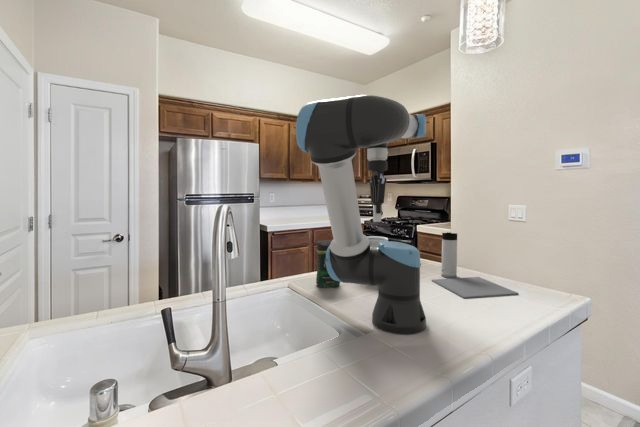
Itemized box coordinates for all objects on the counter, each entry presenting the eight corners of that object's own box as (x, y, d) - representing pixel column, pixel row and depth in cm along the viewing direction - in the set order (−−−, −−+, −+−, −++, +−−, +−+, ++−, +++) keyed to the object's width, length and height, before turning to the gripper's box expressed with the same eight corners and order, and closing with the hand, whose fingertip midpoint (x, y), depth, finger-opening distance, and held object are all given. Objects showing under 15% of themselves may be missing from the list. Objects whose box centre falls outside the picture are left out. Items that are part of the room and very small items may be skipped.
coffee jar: (318, 289, 124) (317, 242, 123) (315, 283, 132) (314, 239, 130) (342, 287, 125) (341, 241, 124) (337, 281, 133) (337, 238, 132)
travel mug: (440, 277, 138) (441, 232, 137) (442, 273, 144) (443, 230, 143) (455, 279, 135) (456, 233, 134) (457, 275, 141) (458, 231, 140)
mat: (518, 294, 115) (518, 292, 115) (463, 298, 111) (463, 296, 111) (478, 278, 137) (478, 276, 136) (431, 281, 133) (431, 279, 133)
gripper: (393, 158, 114) (393, 223, 116) (380, 161, 127) (380, 220, 129) (373, 158, 113) (373, 223, 115) (362, 161, 126) (362, 220, 128)
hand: (377, 221), depth 122 cm, fingers closed
